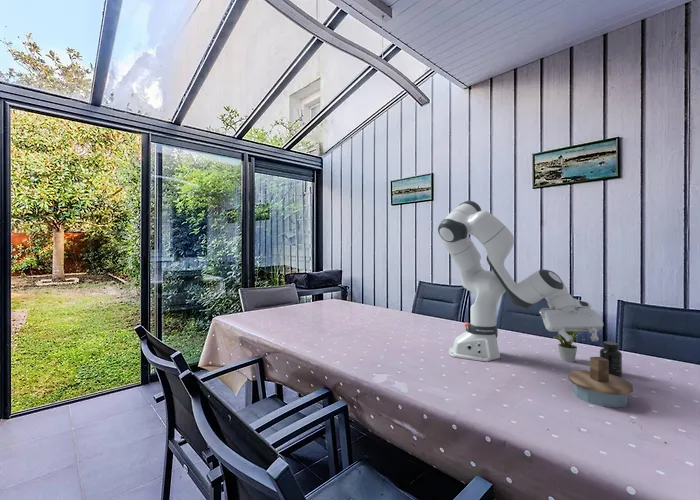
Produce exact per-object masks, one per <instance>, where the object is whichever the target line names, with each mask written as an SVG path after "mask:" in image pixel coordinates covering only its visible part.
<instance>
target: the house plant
mask: <svg viewBox="0 0 700 500" xmlns="http://www.w3.org/2000/svg"><path fill="white" fill-rule="evenodd" d="M556 332H557V336H553V337H552V339H556V340H558V341H559V343H558V344H557V348H558V353H559V358H560V360H561V361H562V362H566V363H575V361H576V357H577V356H576V355H577V350H578V347H577V346H576V345H575V344H573V343H574V342H577V343H578V342H579V341H581V342H582V341H583V342H584V341H585V340H586V339H585V338H584V339H580V338H577V336H579V335H580V334H581V332H580V331H565V332H566V333H567V334H568V335H571V336H572V338H573V340H572V341H571V342H567V341H566V339H565V338H564V337H563V336H561V335H560V334H559V333H558V331H556Z"/></svg>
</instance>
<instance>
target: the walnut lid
mask: <svg viewBox="0 0 700 500" xmlns="http://www.w3.org/2000/svg"><path fill="white" fill-rule="evenodd" d="M568 380H569V381H570V382H571V384H572V385H573V384H575V385H577V386H579V387H582V388H584V389H587V390H591V391H594V392H599V393H604V394H612V395H625V394H628V395H630V394H632V393H633V392H634V386H633V384H632V382H630V381H629V380H628V379H627V380H626V379H625V378H622V377H621V376H619V377H618V376H615V375H611V374H609V360H607V359H604V358H602V357H600V356H590V357H589V369H586V370H585V369H582V370H581V369H578V370H573V371H570V372H569V373H568Z"/></svg>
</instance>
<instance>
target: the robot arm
mask: <svg viewBox="0 0 700 500" xmlns="http://www.w3.org/2000/svg"><path fill="white" fill-rule="evenodd" d="M437 233H438V234H439V236H440V238H441V240H442V241H443V244H444V246H445V248H446V251H448V253H449V254H450V256H451V258H452V259H453V261H454V263H455V264H456V266H457V267H458V270H459V272H460V276H461V278H460V283H461V286H462V287H463V288H464V289H465V290H466V291H467V290H468V292H471V293H475V294H476V296H475V300H474V303H472V304H471V306H470V310H469V311H470V322H466V321H465V323H464V327H465V331H464V332H463V333H461V334H460V335H458V336H456V338H455V339H454V341H453V346H450V347H449V349H448V354H449V356H451V357H452V358H458V359H465V360H473V361H482V362H490V361H493V360H499V359H500V358H501V353H500V349H499V344H498V336H499V335H498V333H499V332H498V331H499V328H498V325H497V307H498V304H499V302H500V301H499V300H500V298H501V297H502V296H503V295H504V294H505V293H507V295H508V297H509V299H510V300H511V303H513V305H514V306H516V307H518V308H521V309H530V308H531V307H532V306H534V305H535V304H537V303H538V302H540V301H541V300H543V299H545V300H546V301H547V306H548V307H542V308H541V309H540V310H539V314H540V317H541V318H542V321H543V325H544V327H545V330H547V331H548V332H557V331H558V332H557V334H559V336H560V335H561V336H563V337H564V338H565V339H566V341H567V342H571V341H572V340H573V338H572V336H571V335H568V334H567V333H566V332H565V331H579V332H589V334H591V335H590V337H589V338H590V340H591V342H598V341H599V340H600V339H599V336H598V332H599V331H601V329H603V327H604V322H603V320H602V318H601V317H600V316H599V314H598V313H597V311H596V310H594V309H593V308H591V307H592V305H591V303H590V302H588V301H583V300H580V299H577V298H574V297H573V296H572V295H571V294H570V293H569V291H568V288H567V286H566V284H565V283H564V281H563V280H562V279H561V277H560V276H559V275H558V274H557V273H555V271H553V270H548V269H545V268H544V269H538V270H537V271H535V272H533V273H531V274H530V275H529V276H528V277H525V278H524V279H523V280H521V281H519V282H515V281H514V279H513V278H512V276H511V275H510V273H509V271H508V270H507V268H506V267H505V261H506V259H507V257H508V256H509V254H510V253H511V251H512V250H513V247H514V243H515V237H514V235H513V233H512V232H511V231H510V229H509V228H508V227H507V226H506V225H505V224H504V223H503V222H502V221H501V220H500V219H499V218H497V217H496V216H495V215H494V214H492V213H490V212H489V211H488V210H482V208H481V206H480V205H479V204H478V203H477V202H475V201H473V200H465V201H463V202H461V203H460V204H459V205H458V206H456V207H455V208H454V209H453V210H451V211H450V212H449V213H448V215H446V216H445V218H444V219H443V220H441V221H440V223H439V225H438V228H437ZM469 235H471V236H473V237H475V238H476V239H477V240H478V242H479V243H481V244H482V245H483V246H484V248H485V250H486V253H487V256H486V261H487V263H488V265H489V267H490V269H491V270H485V269H484V268H483V266H482V264H481V259H482V256H481V253H480V252H479V250H478V248H477V247H476V246H475V244H474V242H473V241H472V239H471V238H470V236H469ZM561 336H560V337H561Z"/></svg>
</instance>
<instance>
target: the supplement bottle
mask: <svg viewBox="0 0 700 500" xmlns="http://www.w3.org/2000/svg"><path fill="white" fill-rule="evenodd" d="M619 349H620V346H619V343H618V342H613V341H607V340H606V341H603V342H602V348H601V349H600V350H599V357H602V358H604V359H607V360H609V374H611V375H615V376H618V377H621V376H622V375H623V353H622V352H621V351H620V350H619Z"/></svg>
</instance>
